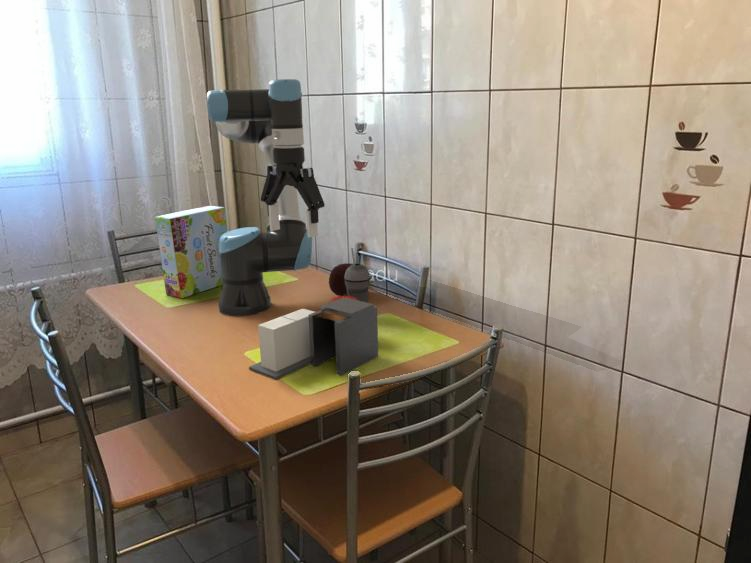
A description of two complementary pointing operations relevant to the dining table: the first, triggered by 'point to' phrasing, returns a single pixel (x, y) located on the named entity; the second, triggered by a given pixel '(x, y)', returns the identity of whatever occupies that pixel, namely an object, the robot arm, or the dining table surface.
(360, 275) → the beverage cup
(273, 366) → the white rectangular block
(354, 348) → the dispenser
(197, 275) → the snack box
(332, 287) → the potato
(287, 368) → the mat
